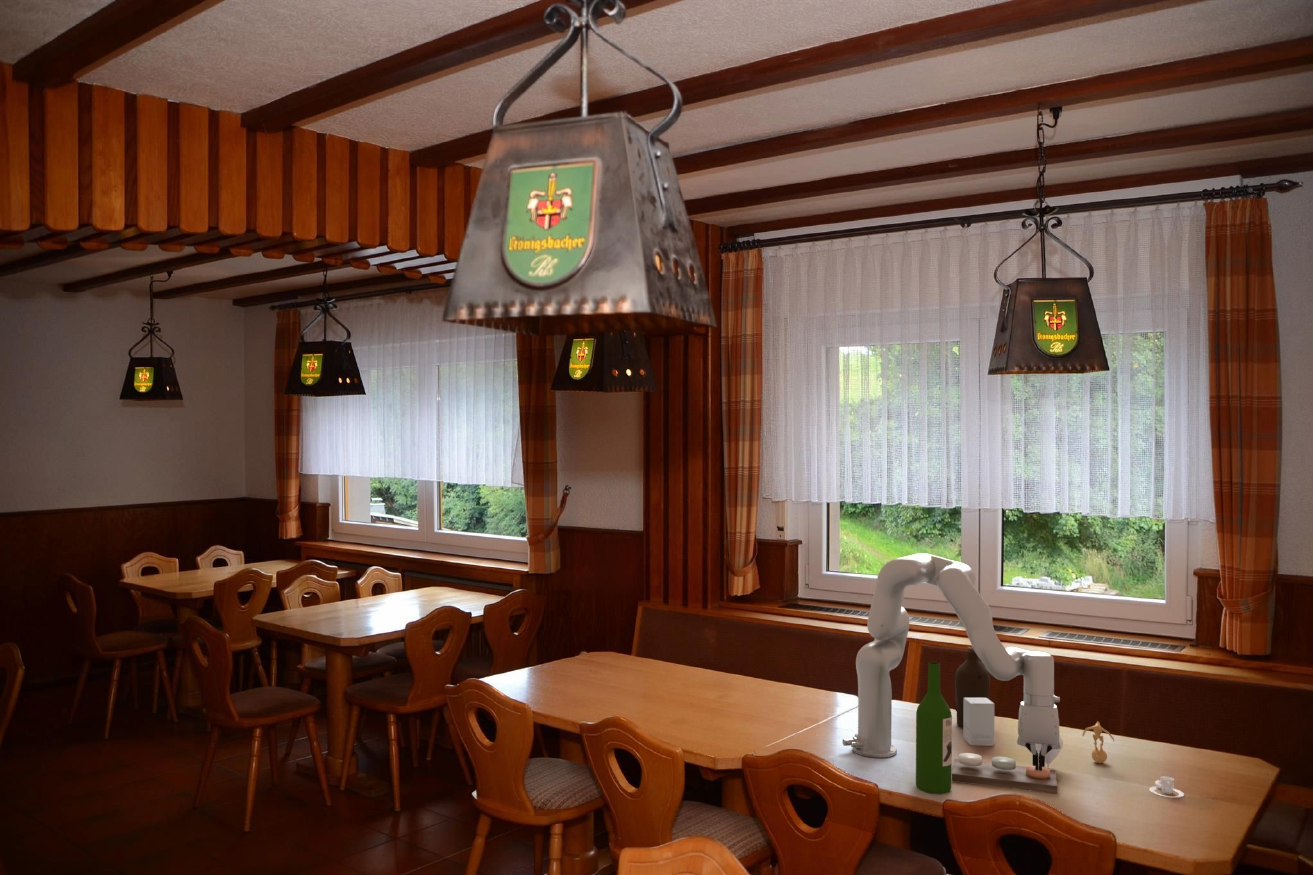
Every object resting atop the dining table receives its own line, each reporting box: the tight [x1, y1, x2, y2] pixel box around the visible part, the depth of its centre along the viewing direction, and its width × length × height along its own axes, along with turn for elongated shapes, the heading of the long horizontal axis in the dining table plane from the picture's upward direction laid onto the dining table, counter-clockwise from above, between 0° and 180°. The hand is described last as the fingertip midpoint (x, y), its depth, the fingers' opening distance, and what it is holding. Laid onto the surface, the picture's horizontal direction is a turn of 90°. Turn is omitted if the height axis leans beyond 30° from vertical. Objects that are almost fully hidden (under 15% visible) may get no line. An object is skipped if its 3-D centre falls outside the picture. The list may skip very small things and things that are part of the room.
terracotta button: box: [1025, 764, 1051, 779], centre depth 255 cm, size 6×6×2 cm
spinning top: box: [1035, 734, 1064, 769], centre depth 268 cm, size 8×8×12 cm
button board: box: [951, 758, 1058, 795], centre depth 258 cm, size 13×26×2 cm, turn 70°
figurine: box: [1082, 721, 1115, 764], centre depth 271 cm, size 8×6×12 cm
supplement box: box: [962, 698, 995, 747], centre depth 290 cm, size 7×7×13 cm
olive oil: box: [954, 646, 991, 729], centre depth 307 cm, size 11×11×25 cm
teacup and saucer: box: [1149, 775, 1185, 799], centre depth 250 cm, size 9×8×4 cm
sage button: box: [991, 756, 1017, 770], centre depth 258 cm, size 6×6×2 cm
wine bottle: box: [915, 661, 953, 795], centre depth 251 cm, size 9×9×32 cm
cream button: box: [958, 752, 983, 766], centre depth 261 cm, size 6×6×2 cm
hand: (1038, 768), depth 255 cm, fingers closed
